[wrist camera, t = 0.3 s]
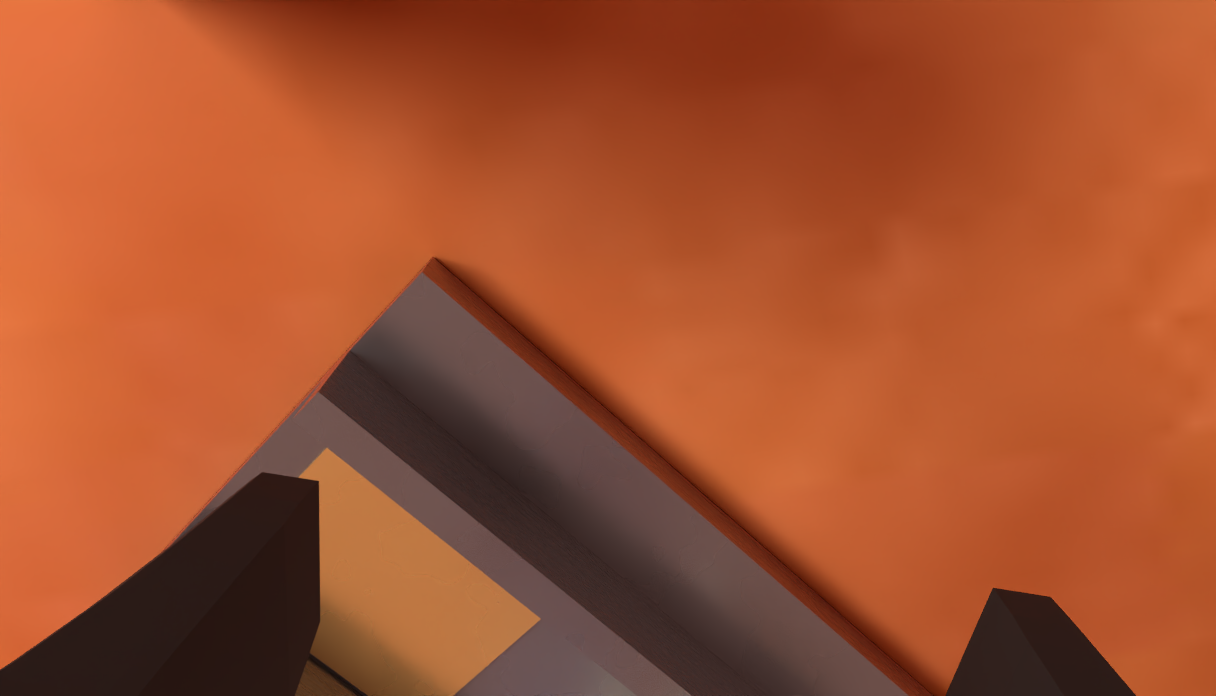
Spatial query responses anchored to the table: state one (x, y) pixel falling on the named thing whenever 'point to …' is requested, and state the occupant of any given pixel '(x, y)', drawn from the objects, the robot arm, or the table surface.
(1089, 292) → the table surface
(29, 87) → the table surface
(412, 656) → the chute
